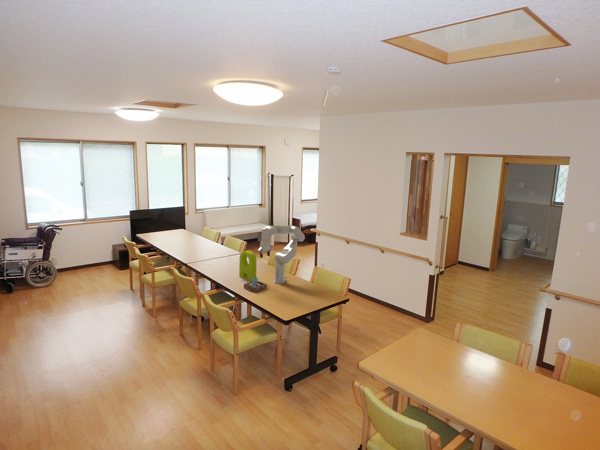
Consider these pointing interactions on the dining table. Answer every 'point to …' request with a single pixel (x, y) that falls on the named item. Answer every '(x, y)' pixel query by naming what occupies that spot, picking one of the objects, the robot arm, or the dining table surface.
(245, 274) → the decorative object
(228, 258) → the dining table surface
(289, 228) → the robot arm
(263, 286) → the walled box
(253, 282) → the connector
